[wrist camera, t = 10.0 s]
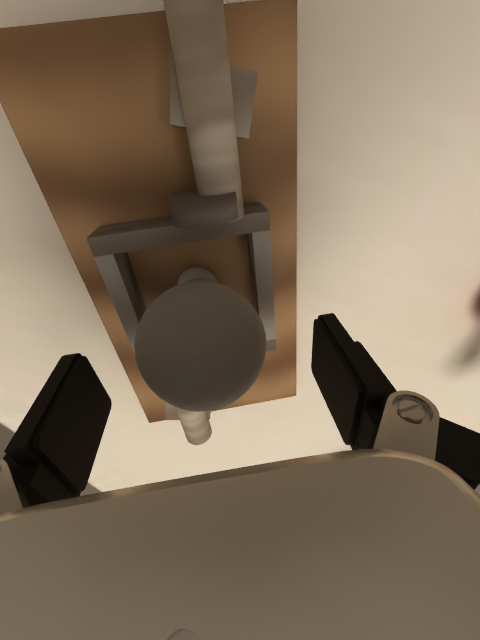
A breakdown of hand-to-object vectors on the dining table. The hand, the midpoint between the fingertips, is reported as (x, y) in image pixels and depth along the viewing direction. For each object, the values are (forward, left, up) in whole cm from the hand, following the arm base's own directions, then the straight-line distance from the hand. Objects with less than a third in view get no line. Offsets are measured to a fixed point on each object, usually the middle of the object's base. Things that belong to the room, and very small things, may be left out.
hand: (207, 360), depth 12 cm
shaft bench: (+1, -1, -10) cm, 10 cm away
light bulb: (0, 0, -9) cm, 9 cm away
